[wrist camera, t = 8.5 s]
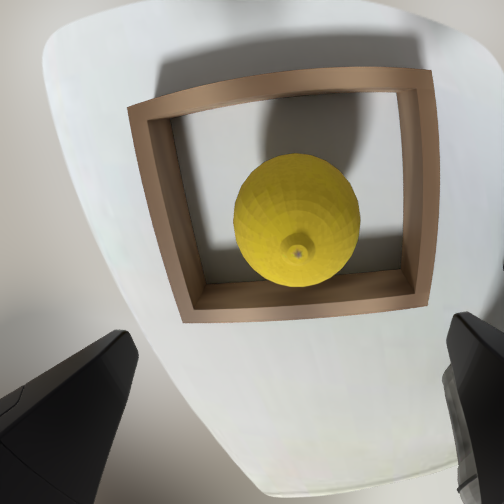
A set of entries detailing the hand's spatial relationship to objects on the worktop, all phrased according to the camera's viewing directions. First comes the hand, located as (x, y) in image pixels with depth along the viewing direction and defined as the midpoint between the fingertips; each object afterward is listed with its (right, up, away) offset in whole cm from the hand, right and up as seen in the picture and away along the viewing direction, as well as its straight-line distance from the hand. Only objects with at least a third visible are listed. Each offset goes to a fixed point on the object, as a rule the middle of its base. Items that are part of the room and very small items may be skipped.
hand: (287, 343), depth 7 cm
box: (+2, +6, +10) cm, 11 cm away
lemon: (+2, +6, +10) cm, 11 cm away
